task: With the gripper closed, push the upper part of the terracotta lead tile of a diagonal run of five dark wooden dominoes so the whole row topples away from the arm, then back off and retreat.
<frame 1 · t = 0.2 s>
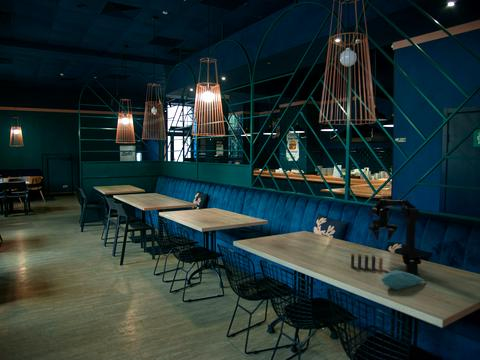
hand: (382, 240, 246), 14 cm above the table, fingers open, 9 cm apart
domino 4: (359, 267, 231), on the table
domino 5: (352, 267, 232), on the table
crystal: (403, 286, 199), on the table
domino 1: (380, 269, 228), on the table
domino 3: (366, 268, 230), on the table
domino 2: (373, 268, 229), on the table
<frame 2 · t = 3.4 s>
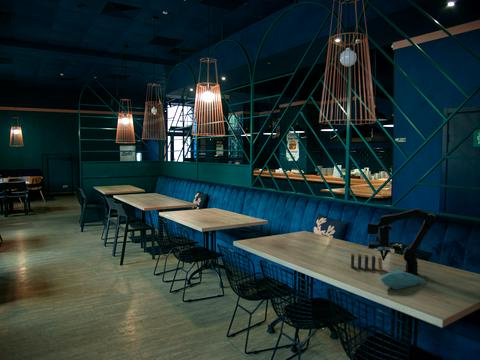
hand: (383, 260, 227), 6 cm above the table, fingers closed
nothing on the table moved.
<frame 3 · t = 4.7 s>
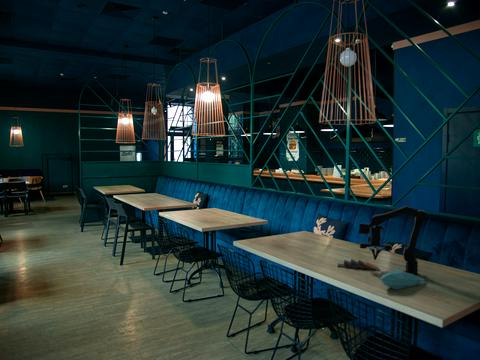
hand: (374, 259, 228), 6 cm above the table, fingers closed
domino 4: (356, 266, 231), point 1 cm above the table, tilted 74°, touching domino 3
domino 5: (350, 266, 232), on the table, tilted 90°
domino 1: (377, 268, 228), point 1 cm above the table, tilted 68°, touching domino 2
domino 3: (363, 266, 230), point 1 cm above the table, tilted 68°, touching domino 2, domino 4
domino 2: (370, 267, 229), point 1 cm above the table, tilted 68°, touching domino 1, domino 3
everything else where it was.
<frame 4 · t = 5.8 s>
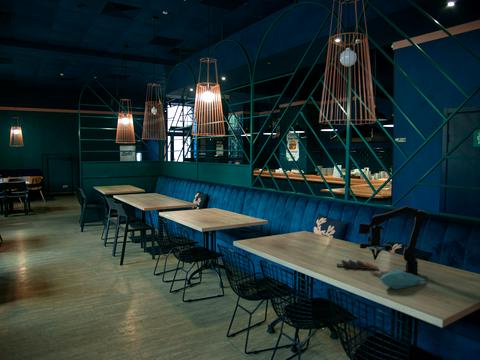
hand: (374, 259, 228), 6 cm above the table, fingers closed
domino 4: (354, 266, 231), point 1 cm above the table, tilted 71°, touching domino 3
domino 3: (361, 266, 230), point 1 cm above the table, tilted 68°, touching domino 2, domino 4
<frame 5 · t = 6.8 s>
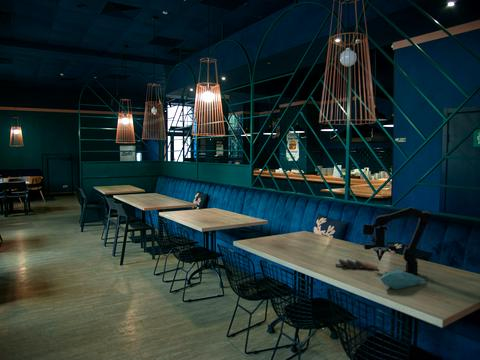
hand: (379, 260, 228), 6 cm above the table, fingers closed
domino 4: (352, 266, 231), point 1 cm above the table, tilted 70°, touching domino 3
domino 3: (359, 266, 231), point 1 cm above the table, tilted 69°, touching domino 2, domino 4
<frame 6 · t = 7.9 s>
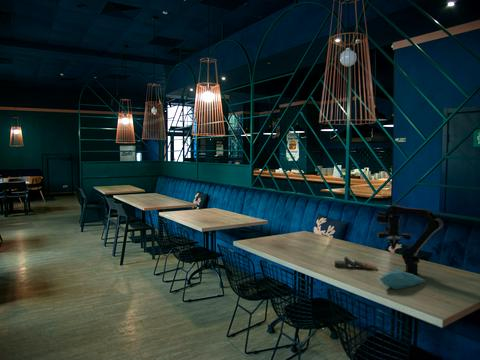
hand: (393, 249, 229), 13 cm above the table, fingers closed
domino 4: (348, 264, 232), point 2 cm above the table, tilted 90°
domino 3: (355, 266, 231), point 1 cm above the table, tilted 55°, touching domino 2
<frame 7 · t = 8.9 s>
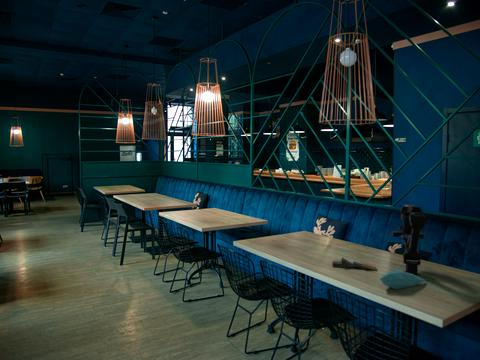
hand: (407, 247, 235), 12 cm above the table, fingers closed
domino 4: (345, 264, 233), point 2 cm above the table, tilted 90°, touching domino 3, domino 5
domino 5: (347, 266, 233), on the table, tilted 90°, touching domino 4
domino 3: (353, 266, 231), point 1 cm above the table, tilted 62°, touching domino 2, domino 4
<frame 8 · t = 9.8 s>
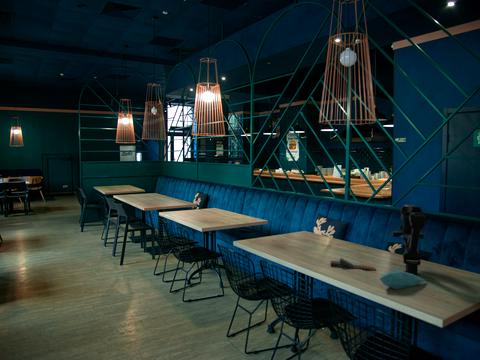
hand: (407, 247, 235), 12 cm above the table, fingers closed
domino 4: (343, 264, 233), point 1 cm above the table, tilted 90°, touching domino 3, domino 5
domino 1: (374, 267, 228), point 1 cm above the table, tilted 80°
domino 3: (351, 266, 231), point 1 cm above the table, tilted 65°, touching domino 4
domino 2: (365, 268, 230), on the table, tilted 90°
everything else where it was.
at the end: domino 5 tilted 91°; domino 1 tilted 81° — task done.
